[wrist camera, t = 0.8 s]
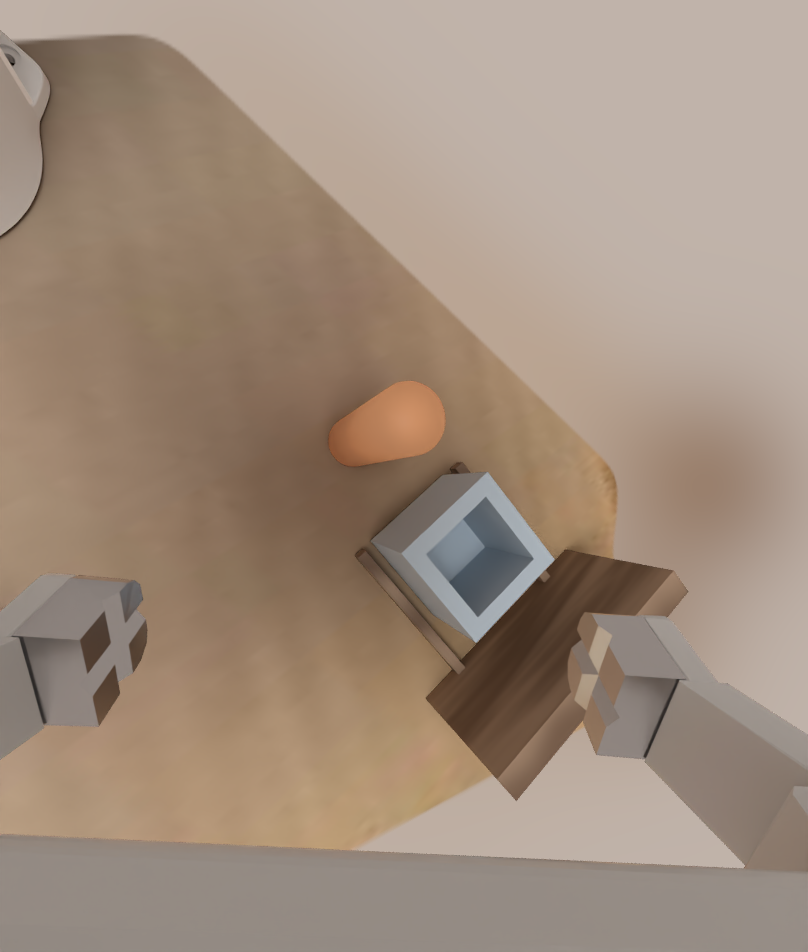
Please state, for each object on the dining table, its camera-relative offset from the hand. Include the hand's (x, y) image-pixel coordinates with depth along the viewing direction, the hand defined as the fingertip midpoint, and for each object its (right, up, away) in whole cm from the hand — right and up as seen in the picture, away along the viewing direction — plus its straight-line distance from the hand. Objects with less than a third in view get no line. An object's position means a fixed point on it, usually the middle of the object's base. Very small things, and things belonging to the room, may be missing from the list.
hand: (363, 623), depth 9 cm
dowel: (-3, +5, +30) cm, 31 cm away
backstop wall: (+6, -6, +33) cm, 34 cm away
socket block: (+4, -3, +32) cm, 33 cm away
